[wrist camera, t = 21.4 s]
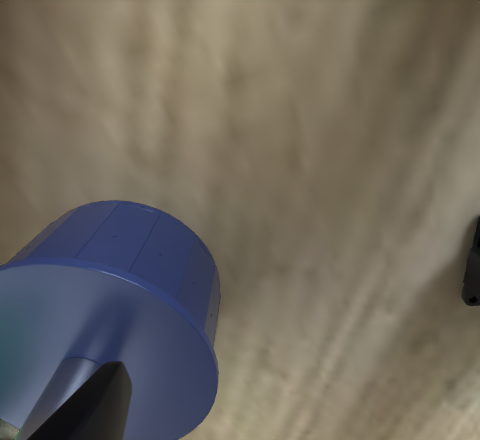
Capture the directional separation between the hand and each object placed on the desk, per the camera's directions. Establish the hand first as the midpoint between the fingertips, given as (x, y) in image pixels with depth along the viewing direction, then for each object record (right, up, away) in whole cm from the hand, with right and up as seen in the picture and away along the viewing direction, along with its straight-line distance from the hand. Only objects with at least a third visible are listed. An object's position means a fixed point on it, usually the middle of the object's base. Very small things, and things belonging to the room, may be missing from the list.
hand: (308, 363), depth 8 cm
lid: (-9, -4, +9) cm, 13 cm away
